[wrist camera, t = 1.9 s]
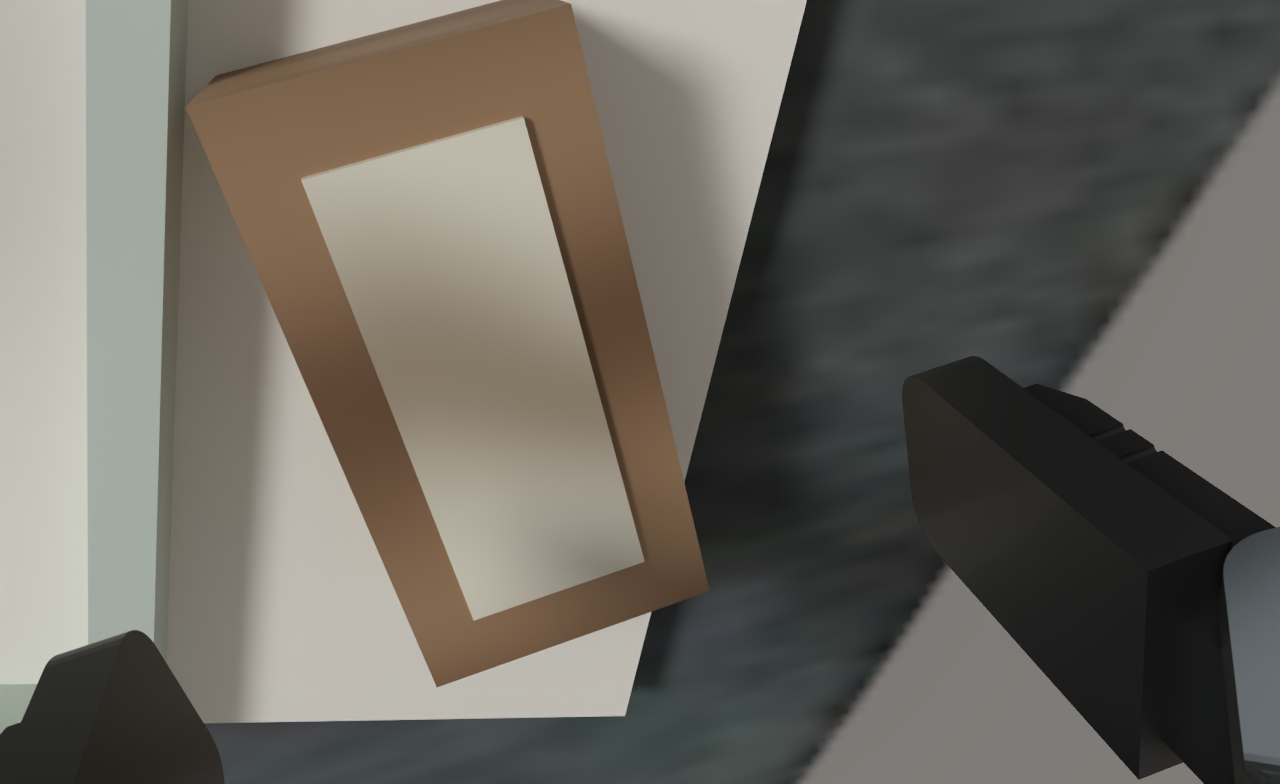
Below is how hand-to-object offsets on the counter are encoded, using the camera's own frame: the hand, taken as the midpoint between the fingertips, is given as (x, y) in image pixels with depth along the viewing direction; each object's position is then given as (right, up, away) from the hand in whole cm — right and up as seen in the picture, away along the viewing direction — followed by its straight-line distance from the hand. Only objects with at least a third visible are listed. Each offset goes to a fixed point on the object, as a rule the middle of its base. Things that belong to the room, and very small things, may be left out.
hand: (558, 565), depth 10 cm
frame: (-2, +3, +7) cm, 8 cm away
